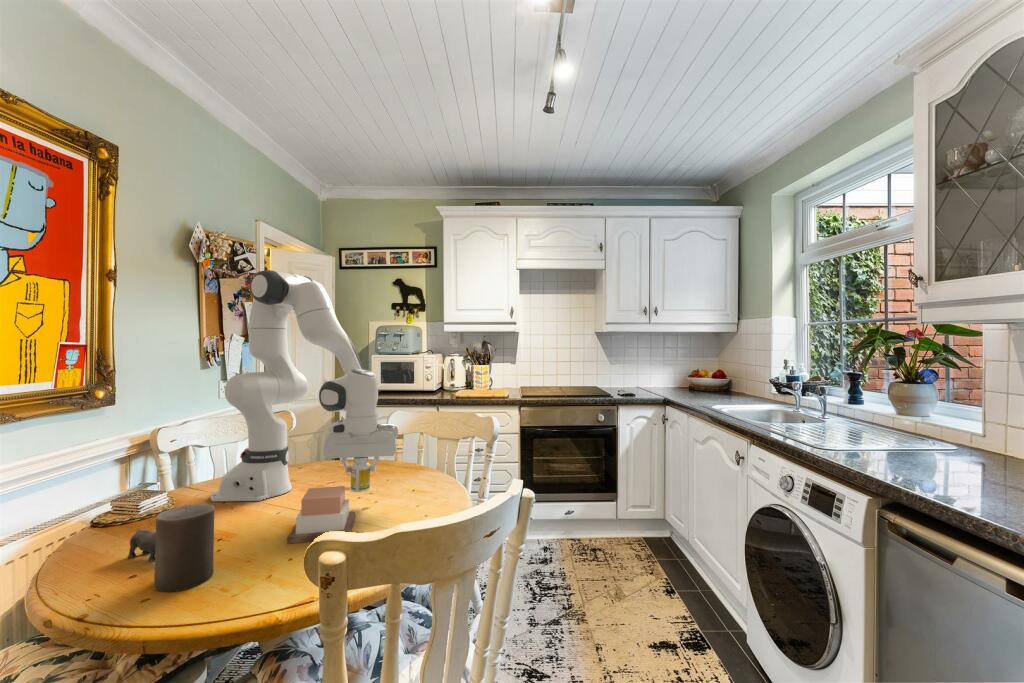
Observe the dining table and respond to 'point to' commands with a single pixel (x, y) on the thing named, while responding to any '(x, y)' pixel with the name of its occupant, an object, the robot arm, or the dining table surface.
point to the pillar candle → (184, 547)
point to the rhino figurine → (143, 543)
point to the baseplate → (311, 536)
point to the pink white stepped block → (323, 510)
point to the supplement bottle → (360, 474)
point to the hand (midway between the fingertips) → (360, 471)
